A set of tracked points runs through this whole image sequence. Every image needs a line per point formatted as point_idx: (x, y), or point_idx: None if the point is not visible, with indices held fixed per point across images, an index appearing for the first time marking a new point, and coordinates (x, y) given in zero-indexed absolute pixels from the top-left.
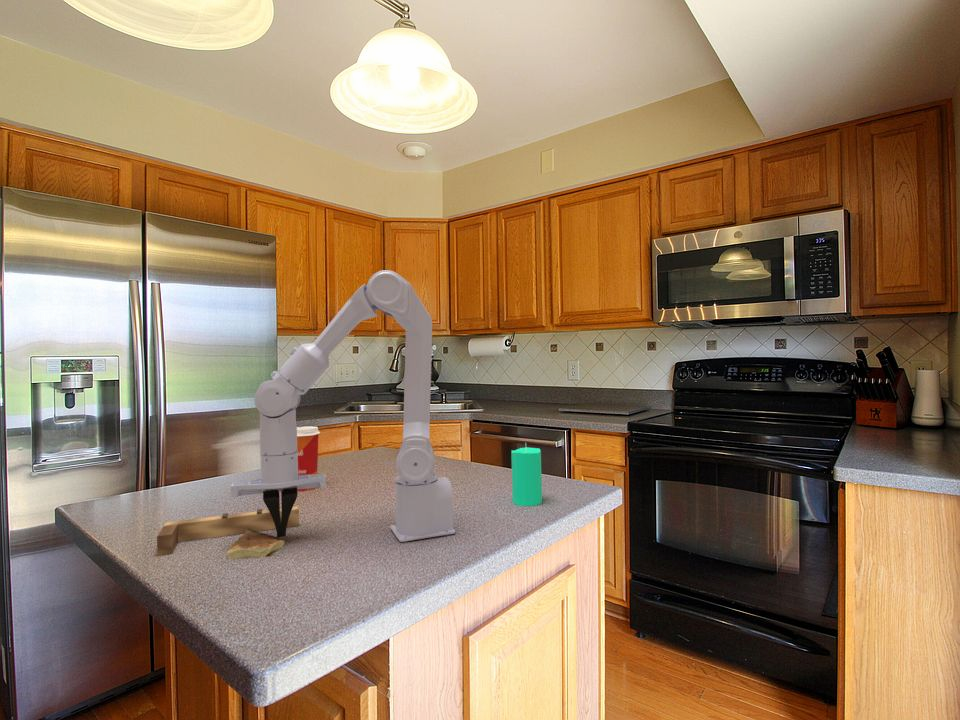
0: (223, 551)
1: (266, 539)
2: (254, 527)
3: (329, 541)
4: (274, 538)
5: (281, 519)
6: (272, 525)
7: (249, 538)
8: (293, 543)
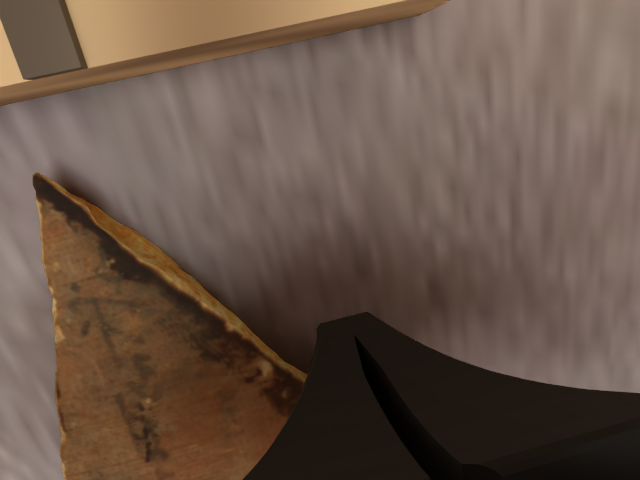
0: (17, 458)
1: None
2: (59, 89)
3: (614, 387)
4: None
5: (376, 392)
6: (212, 55)
7: (150, 430)
8: None
